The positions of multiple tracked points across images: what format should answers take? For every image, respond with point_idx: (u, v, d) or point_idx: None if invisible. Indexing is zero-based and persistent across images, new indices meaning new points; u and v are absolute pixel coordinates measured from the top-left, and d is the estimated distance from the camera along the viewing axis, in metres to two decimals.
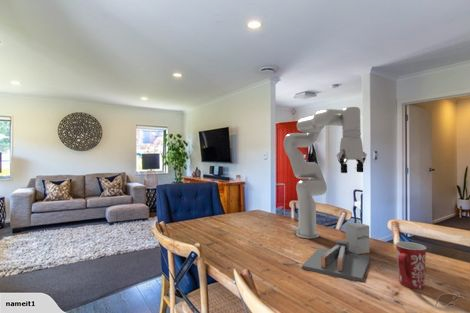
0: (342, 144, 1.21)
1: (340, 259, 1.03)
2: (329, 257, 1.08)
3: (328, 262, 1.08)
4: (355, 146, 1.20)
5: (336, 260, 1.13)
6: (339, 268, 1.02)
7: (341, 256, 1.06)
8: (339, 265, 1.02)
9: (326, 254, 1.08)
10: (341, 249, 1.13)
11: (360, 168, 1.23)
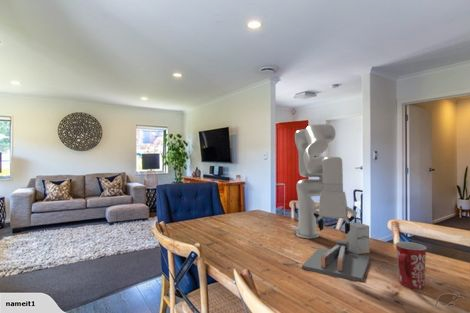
0: (345, 200, 1.04)
1: (340, 259, 1.03)
2: (329, 257, 1.08)
3: (328, 262, 1.08)
4: None
5: (336, 260, 1.13)
6: (339, 268, 1.02)
7: (341, 256, 1.06)
8: (339, 265, 1.02)
9: (326, 254, 1.08)
10: (341, 249, 1.13)
11: (322, 225, 1.10)
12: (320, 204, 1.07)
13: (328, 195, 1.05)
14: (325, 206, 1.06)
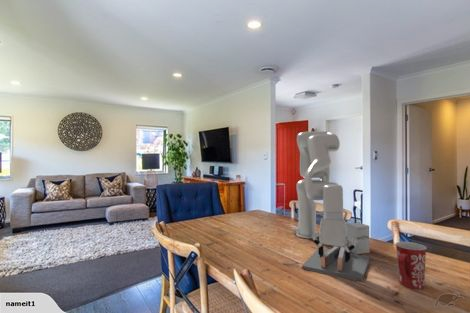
0: (346, 228, 1.04)
1: (340, 259, 1.03)
2: (329, 257, 1.08)
3: (328, 262, 1.08)
4: None
5: (336, 260, 1.13)
6: (339, 268, 1.02)
7: (341, 256, 1.06)
8: (339, 265, 1.02)
9: (326, 254, 1.08)
10: (341, 249, 1.13)
11: (323, 252, 1.10)
12: (320, 232, 1.07)
13: (329, 223, 1.05)
14: (325, 234, 1.06)
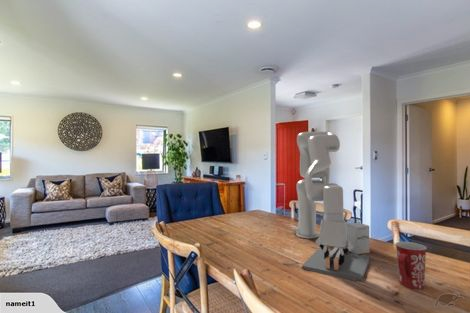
0: (346, 229, 1.04)
1: (336, 258, 1.03)
2: (332, 258, 1.08)
3: (332, 263, 1.07)
4: None
5: None
6: (335, 267, 1.02)
7: (338, 256, 1.06)
8: (335, 264, 1.02)
9: (330, 255, 1.07)
10: None
11: None
12: (321, 233, 1.07)
13: (329, 225, 1.05)
14: (326, 235, 1.06)
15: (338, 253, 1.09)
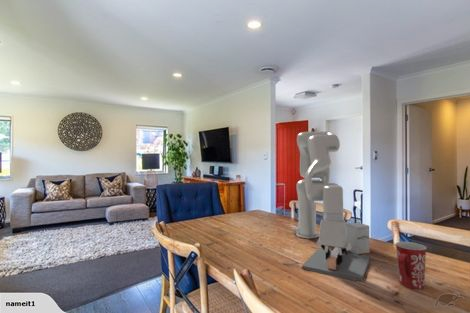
0: (346, 229, 1.04)
1: (334, 258, 1.04)
2: None
3: None
4: None
5: None
6: (333, 267, 1.03)
7: (336, 255, 1.06)
8: (333, 264, 1.03)
9: (331, 255, 1.07)
10: None
11: None
12: (320, 232, 1.07)
13: (329, 224, 1.05)
14: (325, 235, 1.06)
15: (337, 253, 1.09)
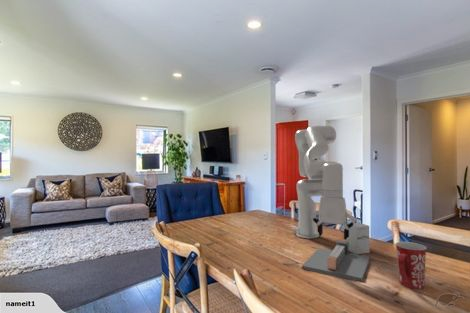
0: (345, 206, 1.04)
1: (334, 258, 1.04)
2: None
3: None
4: None
5: None
6: (333, 267, 1.03)
7: (336, 255, 1.06)
8: (333, 264, 1.03)
9: (331, 255, 1.07)
10: (339, 249, 1.14)
11: (322, 230, 1.11)
12: (320, 210, 1.08)
13: (328, 202, 1.06)
14: (325, 212, 1.06)
15: (337, 253, 1.09)
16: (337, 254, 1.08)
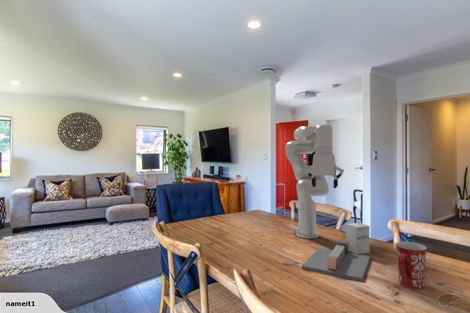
0: (334, 160, 1.24)
1: (334, 258, 1.04)
2: None
3: None
4: None
5: None
6: (333, 267, 1.03)
7: (336, 255, 1.06)
8: (333, 264, 1.03)
9: (331, 255, 1.07)
10: (339, 249, 1.14)
11: (315, 183, 1.30)
12: (313, 164, 1.27)
13: (320, 157, 1.25)
14: (317, 166, 1.26)
15: (337, 253, 1.09)
16: (337, 254, 1.08)
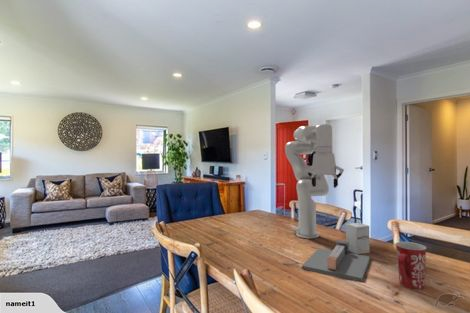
0: (334, 159, 1.24)
1: (334, 258, 1.04)
2: None
3: None
4: None
5: None
6: (333, 267, 1.03)
7: (336, 255, 1.06)
8: (333, 264, 1.03)
9: (331, 255, 1.07)
10: (339, 249, 1.14)
11: (315, 182, 1.30)
12: (313, 164, 1.28)
13: (320, 156, 1.26)
14: (317, 165, 1.26)
15: (337, 253, 1.09)
16: (337, 254, 1.08)
